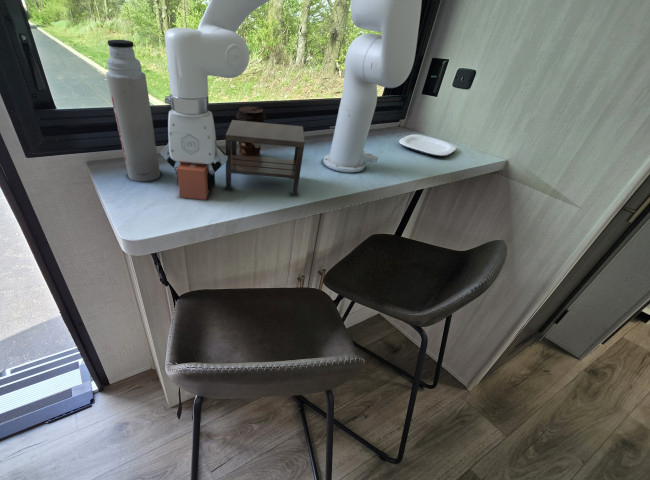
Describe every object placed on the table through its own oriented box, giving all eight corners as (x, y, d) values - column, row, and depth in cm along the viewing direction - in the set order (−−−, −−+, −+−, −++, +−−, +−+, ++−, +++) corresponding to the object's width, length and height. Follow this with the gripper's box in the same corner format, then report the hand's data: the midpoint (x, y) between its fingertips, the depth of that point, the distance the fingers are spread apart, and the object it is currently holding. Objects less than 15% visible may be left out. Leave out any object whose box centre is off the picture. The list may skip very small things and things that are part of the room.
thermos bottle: (125, 181, 81) (93, 41, 62) (131, 168, 87) (104, 36, 68) (157, 182, 82) (136, 44, 63) (162, 169, 88) (143, 39, 69)
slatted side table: (295, 176, 91) (302, 126, 82) (296, 195, 82) (304, 142, 73) (232, 170, 91) (232, 119, 82) (226, 189, 82) (225, 134, 73)
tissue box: (212, 183, 84) (211, 156, 79) (205, 200, 77) (204, 170, 72) (188, 181, 84) (185, 153, 79) (180, 197, 77) (176, 168, 72)
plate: (459, 150, 118) (461, 145, 117) (442, 162, 107) (444, 157, 106) (412, 136, 126) (413, 132, 125) (392, 146, 116) (393, 141, 114)
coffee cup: (265, 152, 102) (268, 107, 94) (262, 162, 96) (265, 114, 87) (237, 150, 103) (238, 103, 94) (233, 159, 97) (233, 111, 88)
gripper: (143, 105, 65) (157, 190, 77) (229, 113, 65) (229, 196, 77) (154, 96, 70) (165, 177, 82) (233, 104, 70) (233, 183, 82)
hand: (196, 186), depth 80 cm, fingers closed on tissue box, 6 cm apart
